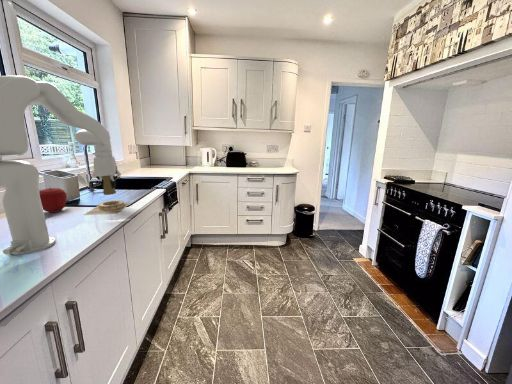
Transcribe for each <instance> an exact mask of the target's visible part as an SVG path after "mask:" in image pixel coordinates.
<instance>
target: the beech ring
mask: <svg viewBox="0 0 512 384" xmlns="http://www.w3.org/2000/svg"><path fill="white" fill-rule="evenodd" d="M124 203H125V202H124V200H121V199H112V200H105V201H102V202H99V203H98V204H97V206H98V208H99V209H100V210H112V209H117V208H120V207H123V206H124ZM112 204H114V205H112Z"/></svg>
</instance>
